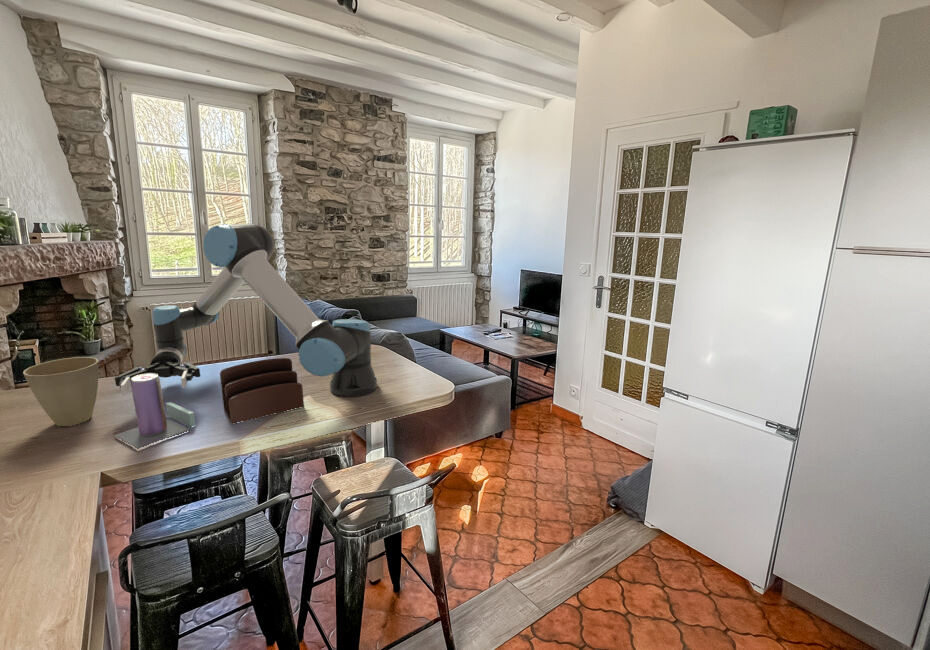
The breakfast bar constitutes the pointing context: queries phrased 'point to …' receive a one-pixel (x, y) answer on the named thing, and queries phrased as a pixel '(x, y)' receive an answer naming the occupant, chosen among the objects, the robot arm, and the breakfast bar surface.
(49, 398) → the plant pot
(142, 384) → the beverage can
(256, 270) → the robot arm
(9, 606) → the breakfast bar surface
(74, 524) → the breakfast bar surface
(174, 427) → the slate coaster
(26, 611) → the breakfast bar surface
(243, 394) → the letter holder
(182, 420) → the frosted wall
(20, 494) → the breakfast bar surface
